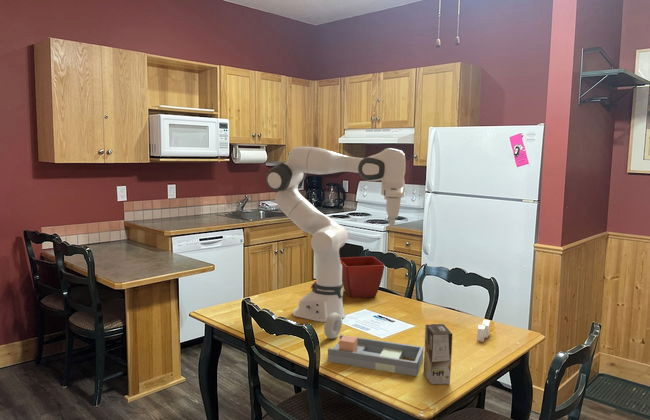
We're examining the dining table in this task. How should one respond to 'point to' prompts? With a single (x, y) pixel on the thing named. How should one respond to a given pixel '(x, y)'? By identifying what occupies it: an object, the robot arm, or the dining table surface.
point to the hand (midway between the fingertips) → (391, 226)
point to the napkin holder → (483, 330)
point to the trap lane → (380, 356)
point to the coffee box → (437, 353)
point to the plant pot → (361, 276)
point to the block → (348, 343)
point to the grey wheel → (332, 325)
